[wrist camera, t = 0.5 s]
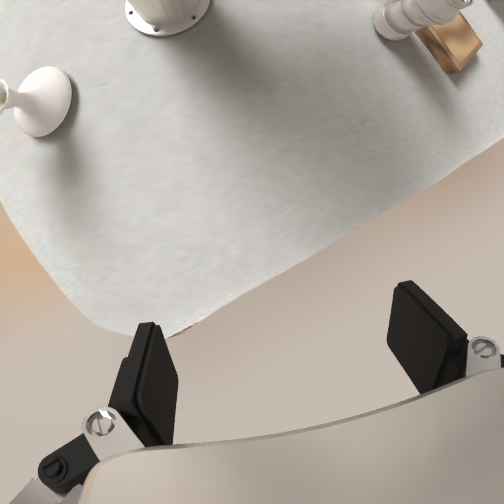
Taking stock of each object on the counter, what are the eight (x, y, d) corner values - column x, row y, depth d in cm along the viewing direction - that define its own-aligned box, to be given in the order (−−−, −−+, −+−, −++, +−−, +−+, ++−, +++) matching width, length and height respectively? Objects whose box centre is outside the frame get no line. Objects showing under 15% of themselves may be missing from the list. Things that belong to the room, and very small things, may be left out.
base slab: (408, 25, 36) (421, 19, 32) (435, 1, 33) (448, -4, 29) (446, 73, 39) (460, 71, 35) (469, 46, 37) (483, 44, 33)
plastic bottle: (406, 24, 36) (484, -5, 17) (394, 50, 38) (476, 27, 19) (375, 2, 34) (447, -40, 16) (362, 28, 36) (436, -12, 18)
